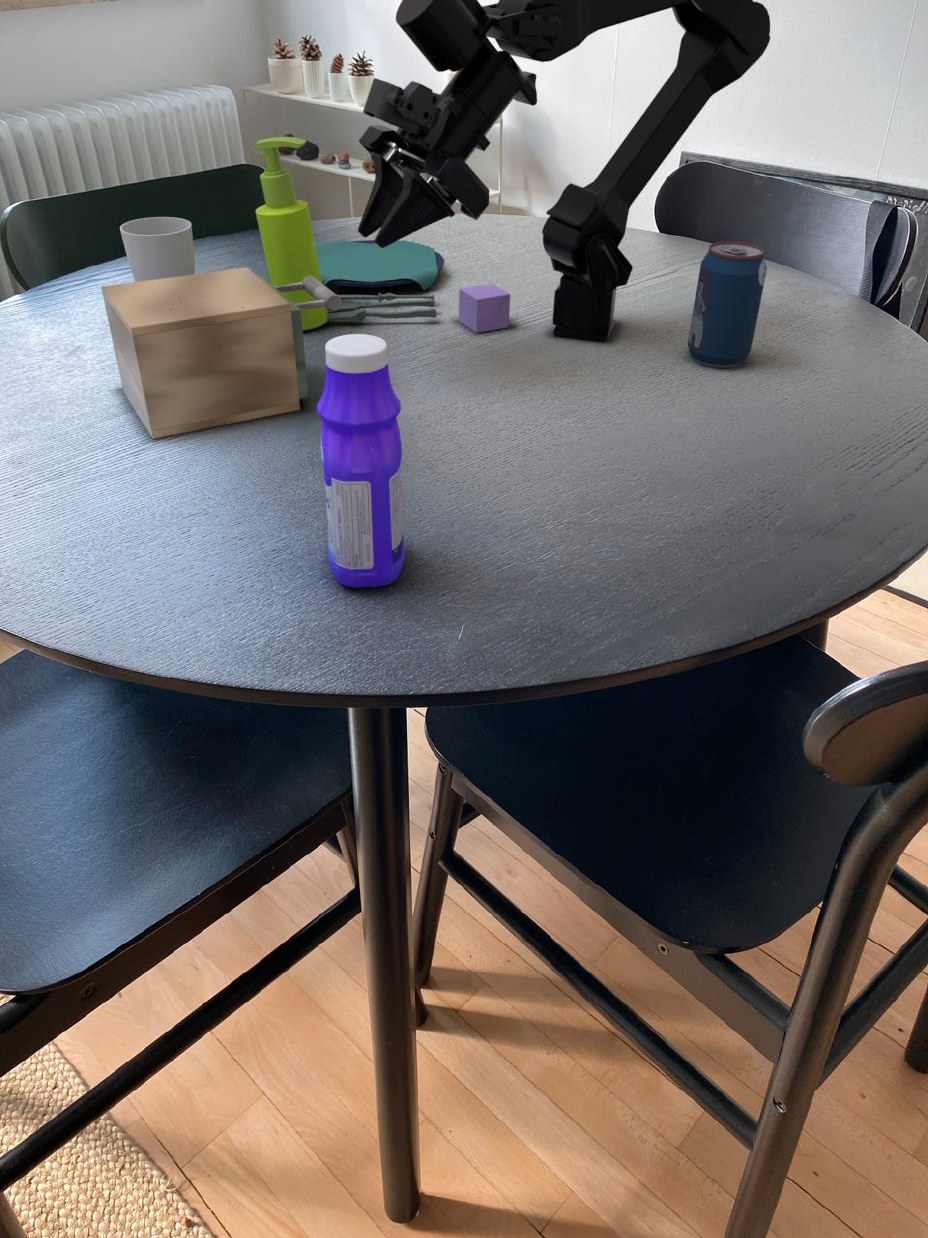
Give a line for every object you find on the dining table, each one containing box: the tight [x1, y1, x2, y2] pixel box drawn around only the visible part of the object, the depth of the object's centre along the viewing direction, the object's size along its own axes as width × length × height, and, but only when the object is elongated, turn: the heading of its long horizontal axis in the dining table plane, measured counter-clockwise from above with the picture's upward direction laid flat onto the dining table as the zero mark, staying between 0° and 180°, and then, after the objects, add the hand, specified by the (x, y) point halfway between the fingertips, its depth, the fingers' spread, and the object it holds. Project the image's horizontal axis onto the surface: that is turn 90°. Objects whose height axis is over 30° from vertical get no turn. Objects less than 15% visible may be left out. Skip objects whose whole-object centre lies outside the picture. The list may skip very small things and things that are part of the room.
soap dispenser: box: [253, 136, 329, 331], centre depth 108 cm, size 6×7×20 cm
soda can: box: [687, 240, 768, 369], centre depth 104 cm, size 7×7×12 cm
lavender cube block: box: [458, 283, 511, 334], centre depth 114 cm, size 4×4×4 cm
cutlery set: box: [315, 239, 446, 322], centre depth 125 cm, size 20×30×2 cm, turn 4°
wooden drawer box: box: [101, 266, 301, 440], centre depth 93 cm, size 15×13×11 cm
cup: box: [119, 216, 196, 282], centre depth 114 cm, size 8×8×10 cm
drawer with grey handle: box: [258, 275, 341, 400], centre depth 95 cm, size 18×11×9 cm, turn 118°
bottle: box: [316, 333, 405, 588], centre depth 67 cm, size 7×6×17 cm
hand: (369, 239), depth 95 cm, fingers open, 4 cm apart
